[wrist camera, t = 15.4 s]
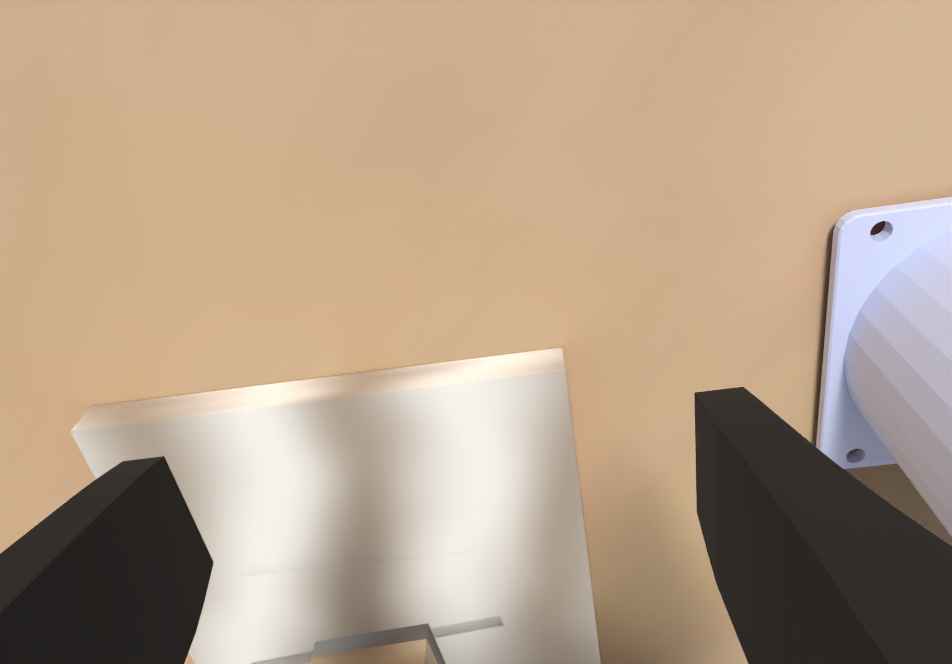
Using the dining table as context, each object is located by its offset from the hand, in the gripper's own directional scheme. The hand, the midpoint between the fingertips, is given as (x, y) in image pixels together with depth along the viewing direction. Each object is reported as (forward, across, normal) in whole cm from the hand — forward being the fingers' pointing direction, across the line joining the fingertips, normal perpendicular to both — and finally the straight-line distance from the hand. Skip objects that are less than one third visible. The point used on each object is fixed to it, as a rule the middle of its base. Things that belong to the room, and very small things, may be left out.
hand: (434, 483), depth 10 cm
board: (+10, +5, +13) cm, 17 cm away
